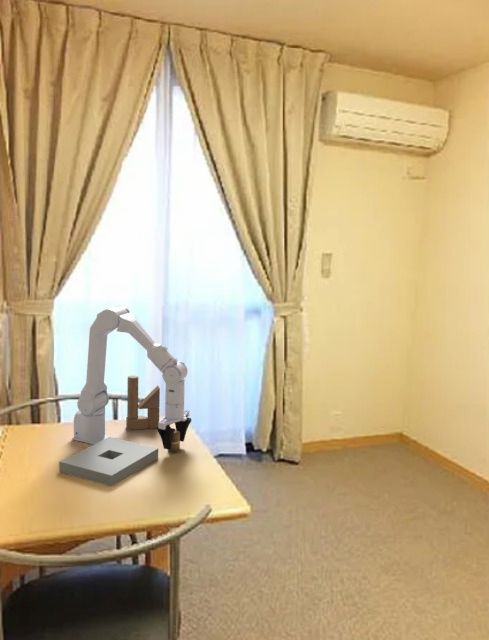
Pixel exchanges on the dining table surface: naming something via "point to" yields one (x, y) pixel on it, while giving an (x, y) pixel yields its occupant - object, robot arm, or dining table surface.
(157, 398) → the wooden block
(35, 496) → the dining table surface
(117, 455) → the board
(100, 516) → the dining table surface
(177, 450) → the peg
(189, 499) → the dining table surface
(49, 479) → the dining table surface
